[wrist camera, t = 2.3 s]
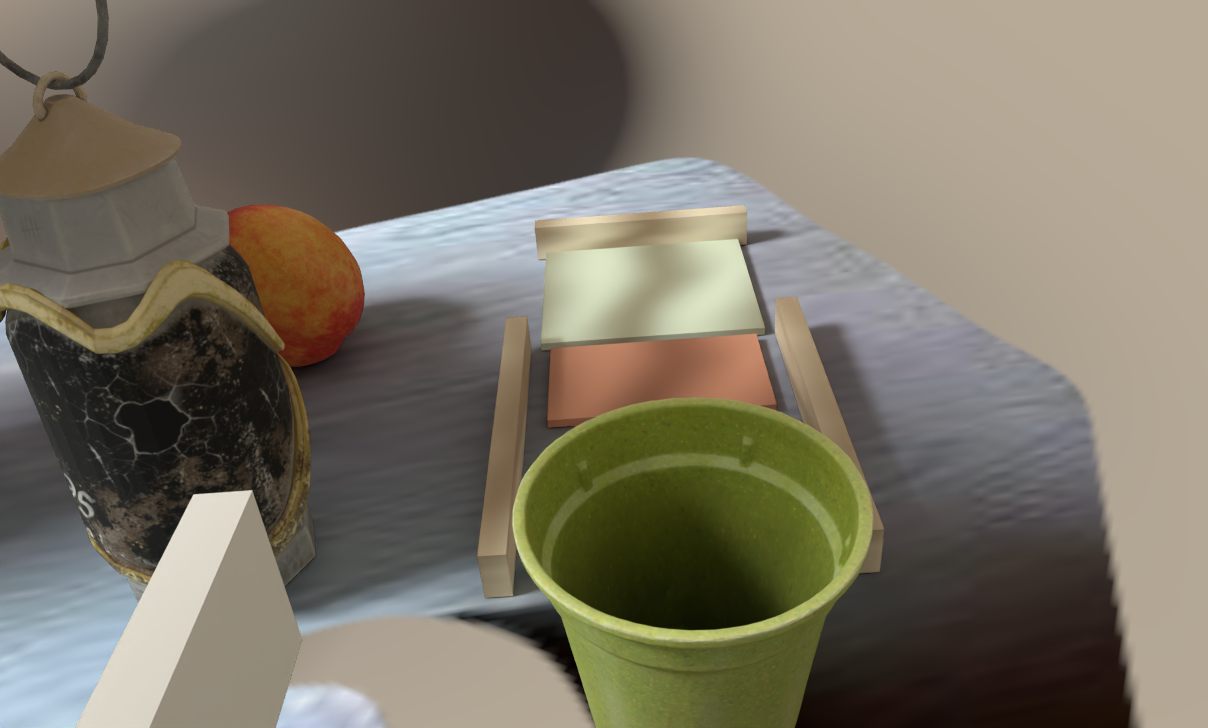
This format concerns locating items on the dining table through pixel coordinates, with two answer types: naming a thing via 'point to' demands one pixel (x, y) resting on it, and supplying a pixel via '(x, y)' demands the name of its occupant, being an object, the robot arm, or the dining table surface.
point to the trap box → (644, 345)
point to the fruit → (299, 279)
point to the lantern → (142, 334)
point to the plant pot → (693, 557)
